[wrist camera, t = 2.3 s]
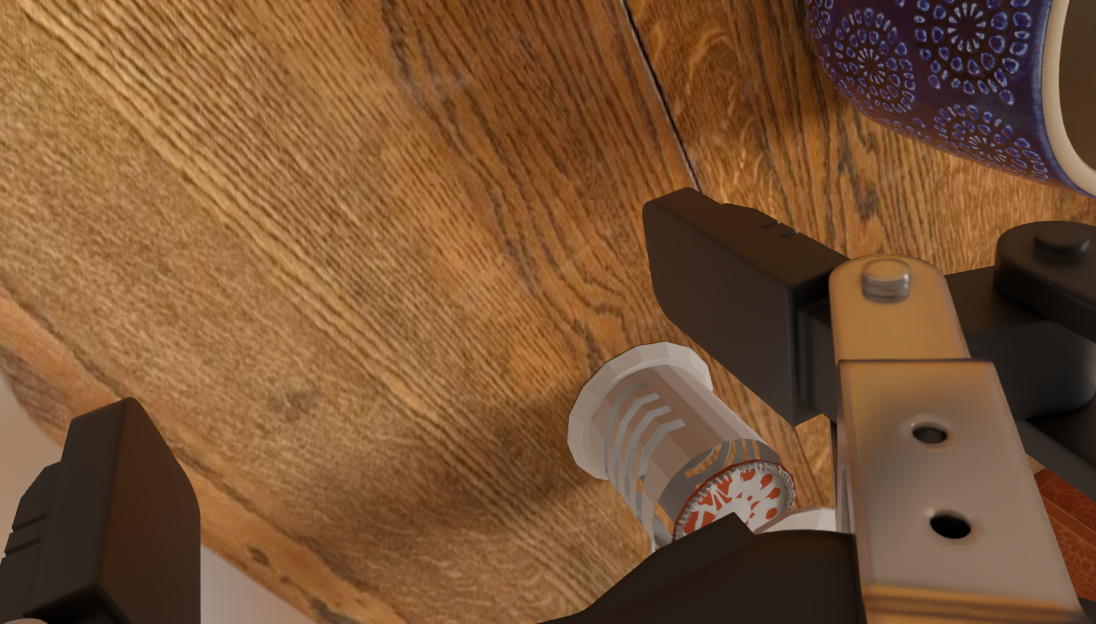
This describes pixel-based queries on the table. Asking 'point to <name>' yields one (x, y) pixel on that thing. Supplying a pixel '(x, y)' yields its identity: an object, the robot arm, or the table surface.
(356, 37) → the table surface
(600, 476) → the french press
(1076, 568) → the book
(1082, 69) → the planter
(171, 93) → the table surface
